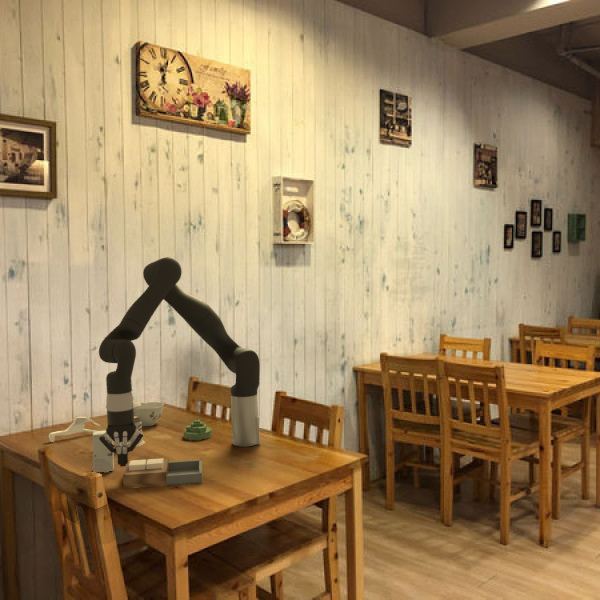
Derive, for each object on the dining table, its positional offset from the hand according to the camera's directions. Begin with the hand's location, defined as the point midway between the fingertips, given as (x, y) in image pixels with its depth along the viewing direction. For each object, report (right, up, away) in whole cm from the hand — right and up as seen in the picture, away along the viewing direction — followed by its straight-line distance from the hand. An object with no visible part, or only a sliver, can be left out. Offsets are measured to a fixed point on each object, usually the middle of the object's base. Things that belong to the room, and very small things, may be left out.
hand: (123, 465), depth 186 cm
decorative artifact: (+14, -2, +46) cm, 49 cm away
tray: (+18, -4, +3) cm, 18 cm away
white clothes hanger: (-31, -3, +50) cm, 59 cm away
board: (+7, -5, +1) cm, 8 cm away
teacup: (-9, -1, +66) cm, 67 cm away
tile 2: (+9, -1, +1) cm, 9 cm away
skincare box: (-9, -5, +11) cm, 15 cm away
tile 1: (+4, -1, 0) cm, 4 cm away
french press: (-8, -3, +38) cm, 39 cm away
